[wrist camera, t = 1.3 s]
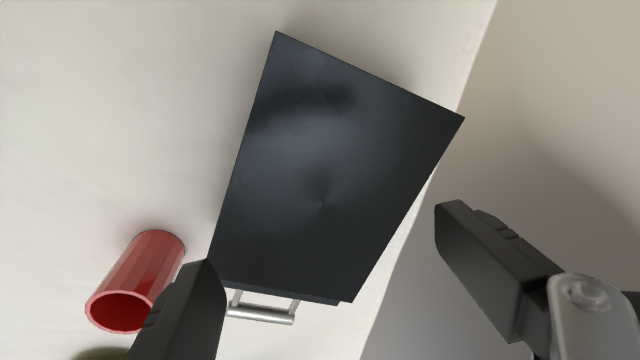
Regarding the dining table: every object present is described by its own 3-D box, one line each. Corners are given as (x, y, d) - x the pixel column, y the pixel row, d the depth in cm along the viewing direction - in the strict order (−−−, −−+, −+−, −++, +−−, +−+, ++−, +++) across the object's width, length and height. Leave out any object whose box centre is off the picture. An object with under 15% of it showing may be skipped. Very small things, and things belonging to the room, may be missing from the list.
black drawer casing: (334, 243, 33) (351, 303, 26) (220, 216, 29) (200, 276, 22) (411, 96, 26) (465, 117, 19) (276, 34, 23) (275, 30, 15)
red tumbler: (128, 263, 30) (82, 330, 23) (134, 224, 28) (86, 284, 21) (179, 272, 32) (152, 337, 25) (189, 236, 30) (162, 296, 23)
